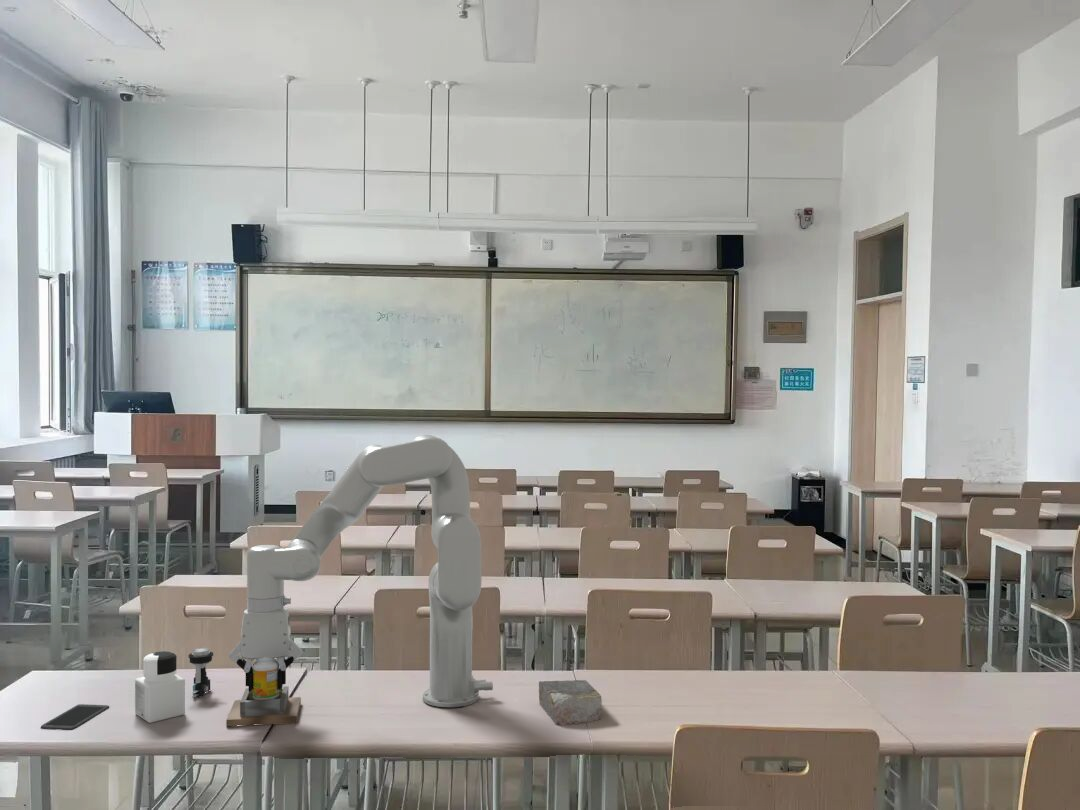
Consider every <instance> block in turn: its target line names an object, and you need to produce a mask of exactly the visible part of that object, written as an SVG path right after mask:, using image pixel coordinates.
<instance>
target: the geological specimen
mask: <svg viewBox="0 0 1080 810" xmlns="http://www.w3.org/2000/svg"><path fill="white" fill-rule="evenodd" d="M602 701H603V700H602V695H601V694H600V693H599V692H598V691H597V690H596V688H594V687H593V686H592V684H590V683H589V682H588V681H587V680H586V679H583V680H581V679H574V680H544V681H543V680H540V681H538V702H539V706H540V707H541V708H542V709H543V711H544V713H546V715H548V716H549V718H550V719H551V721H552V722H553V723H554V725H555V726H569V725H579V724H587V723H590V722H593V721H598V720H602V715H601V708H602V703H603V702H602Z"/></svg>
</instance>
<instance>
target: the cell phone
mask: <svg viewBox="0 0 1080 810" xmlns="http://www.w3.org/2000/svg"><path fill="white" fill-rule="evenodd" d="M109 708H110V706H109V705H107V704H85V703H82V704H81V703H80V704H77V705H75V706H73V707H72V708H69V709H67V710H66V711H64V712H62V713H61V714H59V715H57V716H56V717H53V718H52V719H50V720H48V721H46V722H45V723H43V724H42V725H41V726H40V729H42V730H56V729H62V730H63V731H72V730H75V729H77V728H79V727H81V726H82V725H83V724H85V723H87V722H88V721H91V720H92V719H93V718H95V717H97V716H98V715H101V714H102V713H103V712H104V711H106V710H108V709H109ZM62 730H61V731H62Z"/></svg>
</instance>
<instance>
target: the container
mask: <svg viewBox="0 0 1080 810" xmlns="http://www.w3.org/2000/svg"><path fill="white" fill-rule="evenodd" d="M177 659H178V657H177V655H176V654H175V653H174V652H171V651H166V650H165V651H156V652H152V653H149V654H147V655H146V656H144V658H143V661H142V663H143V664H142V665H143V673H142V674H143V676H141V677H136V678H135V680H134V683H135V684H134V685H135V686H134V693H135V694H134V698H135V699H134V713H135V715H137V716H138V717H139V718H141V719H143V720H145V721H146V722H147V723H150V724H152V723H156V722H160V721H163V720H168V719H173V718H176V717H179V716H184V715H185V713H186V680H185V678H183V677H181V676H179V674H177Z"/></svg>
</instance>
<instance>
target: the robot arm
mask: <svg viewBox="0 0 1080 810" xmlns="http://www.w3.org/2000/svg"><path fill="white" fill-rule="evenodd" d="M427 479H428V481H429V485H430V490H431V534H430V536H431V541H432V542H433V545H434V546H435V548H436V549H437V562H436V563H435V564H434V565H433V566H432V568H431V570H430V572H429V576H428V598H429V599H428V600H429V688H427V689H426V690H424V691H423V693H422V700H423V702H424V703H425V704H427V705H430V706H433V707H437V708H460V707H465V706H469V705H472V704H474V703H476V702H477V701H478V700H479V698H480V696H479V695H480V694H479V691H493V689H494V685H493V680H492V681H491V680H490V681H487V680H486V679H476V678H474V675H473V626H474V625H473V620H474V619H473V605H474V604H476V602H477V601H478V599H479V597H480V595H481V592H482V591H481V589H482V576H483V575H482V564H483V563H482V538H481V534H480V529H479V527H478V526H477V524H476V523H475V521H474V520H472V518H471V501H470V500H471V499H470V483H469V477H468V473H467V470H466V467H465V465H464V462H463V461H462V459H461V458H460V457H459V455H458V454H457V452H456V451H455V450H454V449H453V448H452V447H451V446H450V445H449V444H448V443H447V442H446V441H445V440H443V438H439V437H437V436H435V435H432V434H422V435H419V436H417V437H415V438H413V440H412V441H409V442H405V443H399V444H392V445H385V446H384V445H379V444H372V445H368V446H366V447H365V448H364V449H363V450H362V451H361V452H360V453H358V455H357V456H356V458H355V459H354V460H353V462H352V463H351V464H350V466H349V467H348V468H347V469H346V471H345V472H344V473H343V475H342V476H341V477H340V478H339V480H338V481H337V482H336V484H335V485H334V486H333V488H332V489H330V490H331V491H330V492H329V493H328V494H327V495H326V497H325V498H324V499H323V500H322V501H321V503H320V504H319V505H318V507H317V508H316V509H315V510H314V512H313V513H312V514H311V515H310V516H309V518H308V519H307V520H306V521H305V523H304V524H303V525H302V527H301V528H299V530H298V531H297V533H296V534H295V536H294V537H293V538H292V539H291V541H290V542H289V543H288V545H287V547H286V548H282V547H281V546H280V545H276V544H261V545H255V546H252V547H250V548H249V549H248V551H247V554H246V555H247V556H246V580H247V581H246V587H247V588H246V595H247V596H246V601H247V602H246V604H247V605H246V609H245V610H244V611H243V615H242V622H241V630H240V631H241V632H240V641H239V642H238V643H237V644H236V646H235V647H234V648H233V649H232V650H231V652H230V653H229V655H228V658H229V659H230V660H231V661H233V662H234V663H236V664H237V666H238V667H240V668H241V669H242V670H243V672H244V673H245V687H248V688H249V691H252V690H253V664H254V660H256V659H259V658H263V657H267V658H275V659H276V661H277V662H278V663H279V670H278V689H279V690H282V687H284V685H286V684H287V682H286V681H287V677H286V675H287V673H286V672H287V669H288V668H289V666H291V665H292V664H293V663H294V661H295V660H297V658H299V657H300V656H301V655H302V653H303V650H302V649H301V648H300V647H299V646H298V644H296V642H295V641H294V640H293V639H292V637H291V635H292V633H291V623H290V622H291V620H290V614H289V613H290V612H289V610H288V609H289V608H288V607H285V606H287V605H291V603H292V598H291V597H288V596H286V595H285V581H292V582H305V581H310V580H312V579H313V578H315V577H316V576H317V575H318V574H319V572H320V570H321V566H322V560H321V558H322V556H323V555H324V554H325V552H326V551H327V550H328V548H329V546H331V544H332V543H333V542H334V540H336V538H337V537H338V536H339V535H340V534H341V533H342V532H343V531H344V530H345V529H346V528H349V527H351V526H352V525H353V524H355V523H356V522H357V521H358V520H359V519H361V517H362V516H363V514H364V513H365V511H366V510H367V508H368V507H369V506H370V504H371V503H372V502H373V500H374V499H375V498H376V497H377V495H378V494H379V493H380V492H381V490H382V489H383V488H384V487H389V486H396V485H402V484H406V483H412V482H417V481H421V480H427ZM290 651H292V653H291V654H290V655H289V653H290ZM239 654H240V655H239ZM288 655H289V656H288ZM286 657H287V658H286Z"/></svg>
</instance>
